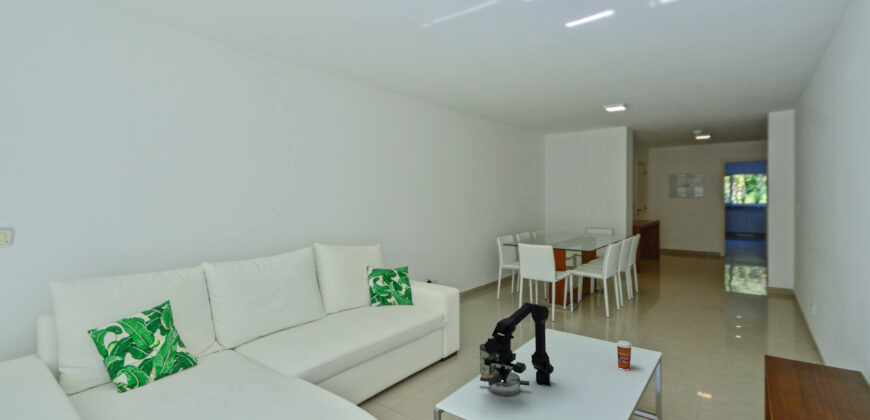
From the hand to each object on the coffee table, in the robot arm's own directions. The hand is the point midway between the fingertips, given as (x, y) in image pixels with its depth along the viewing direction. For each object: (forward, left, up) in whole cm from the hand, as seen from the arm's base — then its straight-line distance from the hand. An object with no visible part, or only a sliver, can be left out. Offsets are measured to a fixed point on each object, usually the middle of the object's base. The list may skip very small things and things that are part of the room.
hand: (504, 382), depth 190 cm
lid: (+2, -7, -2) cm, 8 cm away
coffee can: (+10, -27, -8) cm, 30 cm away
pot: (+1, -9, -8) cm, 12 cm away
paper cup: (-61, -49, -8) cm, 79 cm away
